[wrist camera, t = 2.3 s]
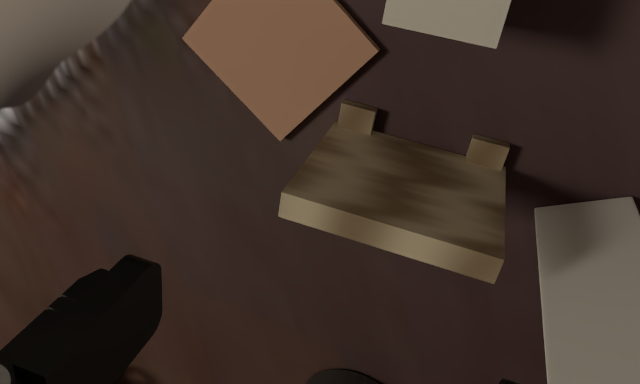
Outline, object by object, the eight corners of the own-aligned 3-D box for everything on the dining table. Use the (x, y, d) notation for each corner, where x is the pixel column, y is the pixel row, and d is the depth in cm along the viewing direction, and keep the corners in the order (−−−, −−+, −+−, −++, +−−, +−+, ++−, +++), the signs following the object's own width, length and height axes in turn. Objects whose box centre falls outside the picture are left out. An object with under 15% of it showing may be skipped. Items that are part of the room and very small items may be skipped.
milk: (639, 270, 37) (770, 648, 19) (544, 277, 39) (577, 618, 21) (632, 193, 35) (774, 537, 16) (531, 205, 37) (556, 518, 19)
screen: (514, 144, 35) (516, 233, 26) (490, 207, 38) (483, 307, 29) (340, 98, 38) (285, 165, 28) (328, 160, 40) (274, 240, 31)
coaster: (282, 138, 40) (279, 141, 40) (186, 36, 39) (182, 38, 38) (380, 49, 35) (378, 51, 35) (272, -73, 34) (269, -72, 33)
